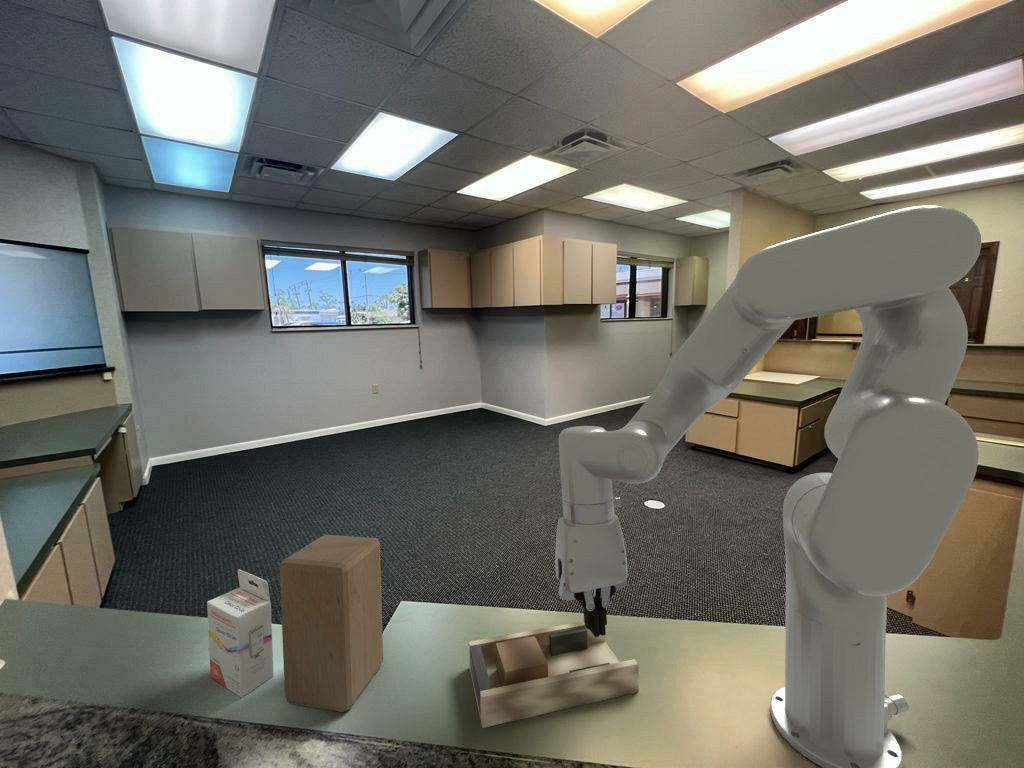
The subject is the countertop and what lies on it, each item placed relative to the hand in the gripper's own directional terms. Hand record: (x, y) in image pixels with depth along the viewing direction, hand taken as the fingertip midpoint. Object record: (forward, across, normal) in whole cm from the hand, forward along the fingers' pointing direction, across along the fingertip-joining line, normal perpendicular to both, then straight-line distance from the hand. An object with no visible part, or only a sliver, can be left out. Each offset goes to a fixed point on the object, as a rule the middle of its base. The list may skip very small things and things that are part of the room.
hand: (596, 630), depth 62 cm
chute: (+5, +8, 0) cm, 9 cm away
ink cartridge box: (+3, +52, -13) cm, 53 cm away
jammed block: (+5, +12, 0) cm, 13 cm away
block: (+4, +38, -8) cm, 39 cm away
